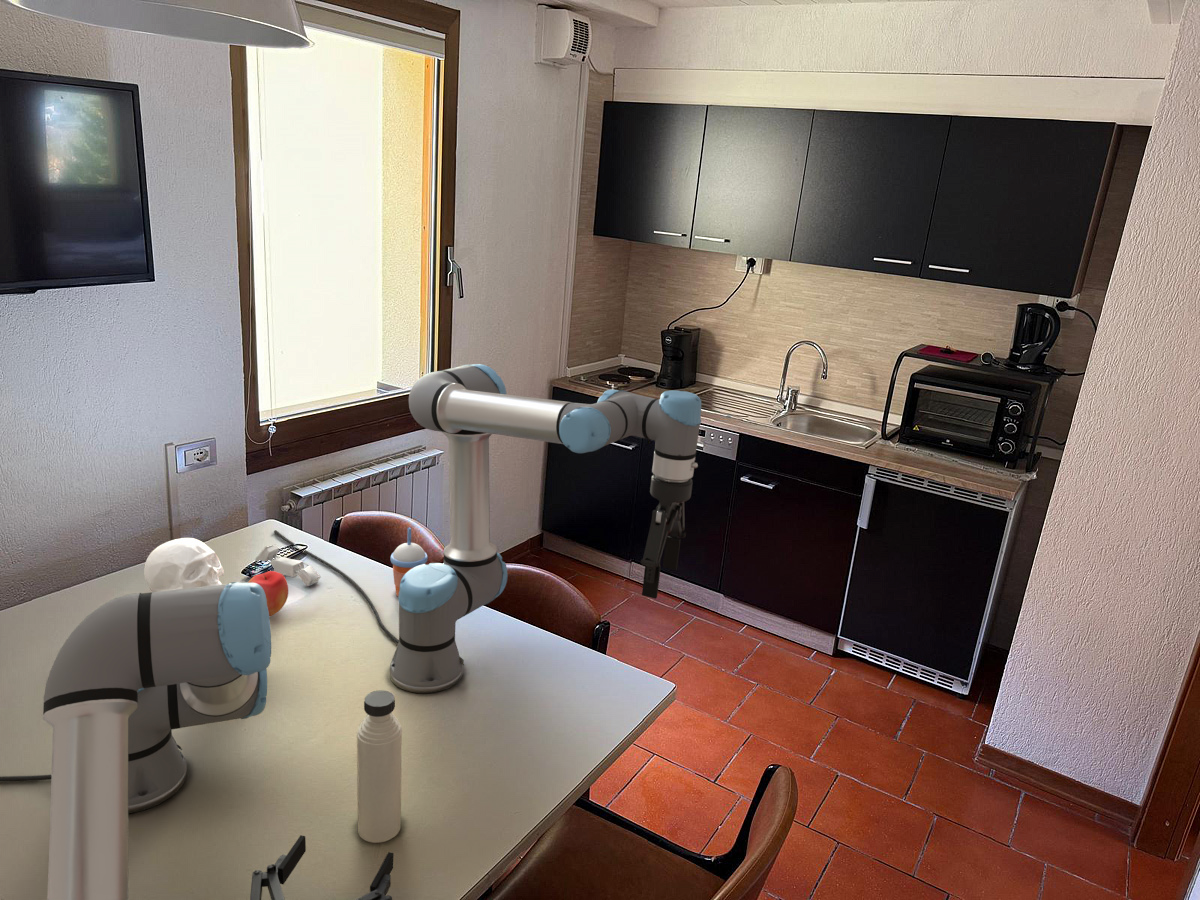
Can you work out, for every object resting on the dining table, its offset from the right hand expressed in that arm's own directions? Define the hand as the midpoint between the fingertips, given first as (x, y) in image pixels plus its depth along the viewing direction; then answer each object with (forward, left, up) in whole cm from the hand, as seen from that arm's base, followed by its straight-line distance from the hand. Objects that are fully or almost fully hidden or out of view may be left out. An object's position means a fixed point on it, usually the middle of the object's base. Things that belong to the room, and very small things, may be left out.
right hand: (660, 581), depth 162 cm
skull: (-111, -17, -32) cm, 117 cm away
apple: (-93, -10, -32) cm, 99 cm away
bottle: (-25, -50, -32) cm, 64 cm away
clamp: (-104, +7, -32) cm, 109 cm away
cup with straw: (-73, +16, -32) cm, 81 cm away
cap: (-25, -50, -8) cm, 56 cm away
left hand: (-21, -61, -25) cm, 70 cm away
